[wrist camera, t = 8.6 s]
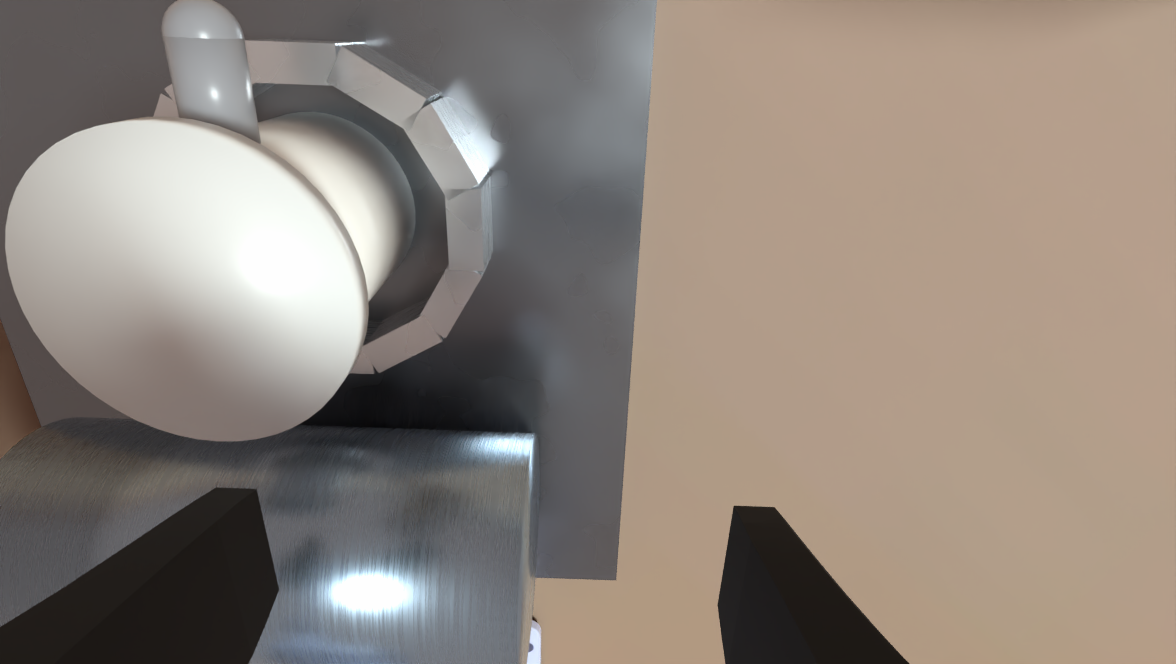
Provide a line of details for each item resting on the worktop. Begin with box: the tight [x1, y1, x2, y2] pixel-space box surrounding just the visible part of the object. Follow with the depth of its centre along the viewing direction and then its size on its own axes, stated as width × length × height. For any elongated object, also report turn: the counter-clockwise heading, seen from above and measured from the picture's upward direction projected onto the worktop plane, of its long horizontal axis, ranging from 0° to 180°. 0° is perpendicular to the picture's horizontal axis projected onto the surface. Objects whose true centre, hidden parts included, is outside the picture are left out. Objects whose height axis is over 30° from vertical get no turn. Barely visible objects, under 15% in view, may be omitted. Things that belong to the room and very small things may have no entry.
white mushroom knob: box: [5, 0, 415, 441], centre depth 13 cm, size 7×6×6 cm
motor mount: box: [0, 0, 657, 664], centre depth 15 cm, size 18×17×7 cm
